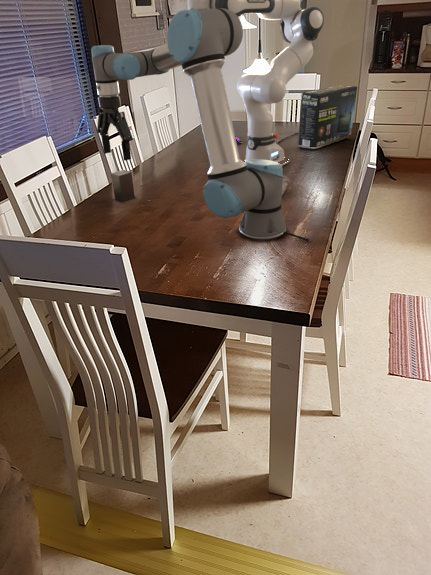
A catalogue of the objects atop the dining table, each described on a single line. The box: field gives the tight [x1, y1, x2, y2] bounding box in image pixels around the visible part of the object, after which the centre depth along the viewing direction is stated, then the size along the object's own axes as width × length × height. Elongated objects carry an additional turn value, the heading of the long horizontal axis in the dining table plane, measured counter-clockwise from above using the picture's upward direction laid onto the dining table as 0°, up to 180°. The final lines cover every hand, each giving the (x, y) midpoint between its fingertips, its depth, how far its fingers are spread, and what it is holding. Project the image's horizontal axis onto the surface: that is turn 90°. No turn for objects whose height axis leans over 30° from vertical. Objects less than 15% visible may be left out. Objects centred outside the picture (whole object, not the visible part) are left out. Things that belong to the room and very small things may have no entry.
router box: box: [297, 84, 358, 151], centre depth 238 cm, size 36×11×27 cm, turn 134°
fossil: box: [282, 175, 291, 195], centre depth 182 cm, size 18×11×15 cm
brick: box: [110, 169, 136, 202], centre depth 180 cm, size 5×6×10 cm
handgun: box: [235, 136, 243, 145], centre depth 256 cm, size 21×8×2 cm, turn 11°
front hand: (117, 156), depth 171 cm, fingers open, 13 cm apart
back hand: (202, 68), depth 189 cm, fingers open, 8 cm apart
